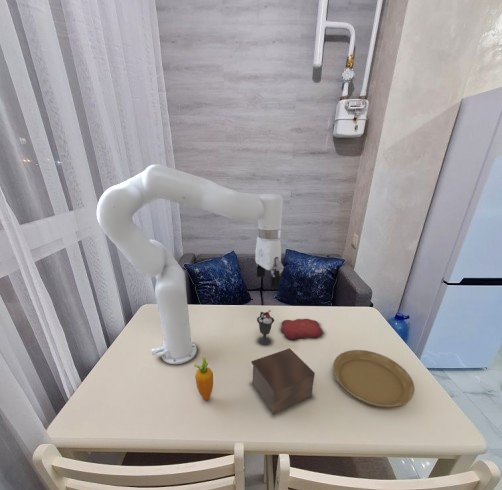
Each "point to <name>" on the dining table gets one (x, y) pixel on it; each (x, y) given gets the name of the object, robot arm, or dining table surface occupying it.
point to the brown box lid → (282, 369)
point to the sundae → (265, 327)
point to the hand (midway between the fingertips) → (267, 281)
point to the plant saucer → (373, 378)
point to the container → (283, 393)
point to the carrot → (204, 380)
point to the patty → (301, 329)
